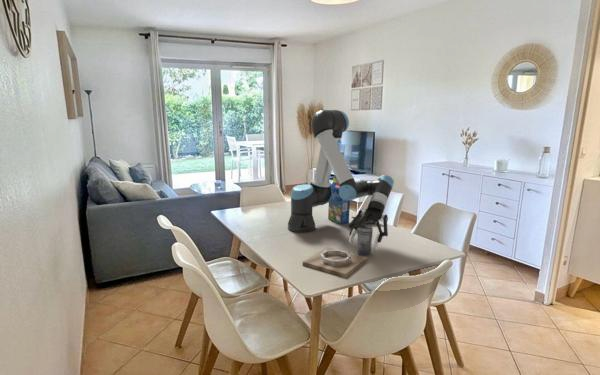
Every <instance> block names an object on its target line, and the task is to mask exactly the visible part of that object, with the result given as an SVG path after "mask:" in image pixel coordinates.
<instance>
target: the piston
mask: <svg viewBox="0 0 600 375" xmlns="http://www.w3.org/2000/svg"><path fill="white" fill-rule="evenodd" d="M373 231H374V230H373V227H372V226H368V225H362V226H359V227H358V229H357V242H356V244H357V246H356V255H360V256H364V257H369V256H371V255H372V248H373V244H372V243H373Z"/></svg>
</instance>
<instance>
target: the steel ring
mask: <svg viewBox="0 0 600 375" xmlns="http://www.w3.org/2000/svg"><path fill="white" fill-rule="evenodd" d="M334 249H335V250H325V251H324V252H322V253H321V254H320V258H321V260H322V262H323V263H326V264H329V265H333V266H337V265H346V264H347V263H349V262H350V261H351V256H350V255H349V253H350V252H349V251H346V250H341V249H336V248H334ZM327 255H340V256H344V257H346V258H345V259H342V260H332V259H328V258H325V257H326V256H327Z"/></svg>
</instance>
